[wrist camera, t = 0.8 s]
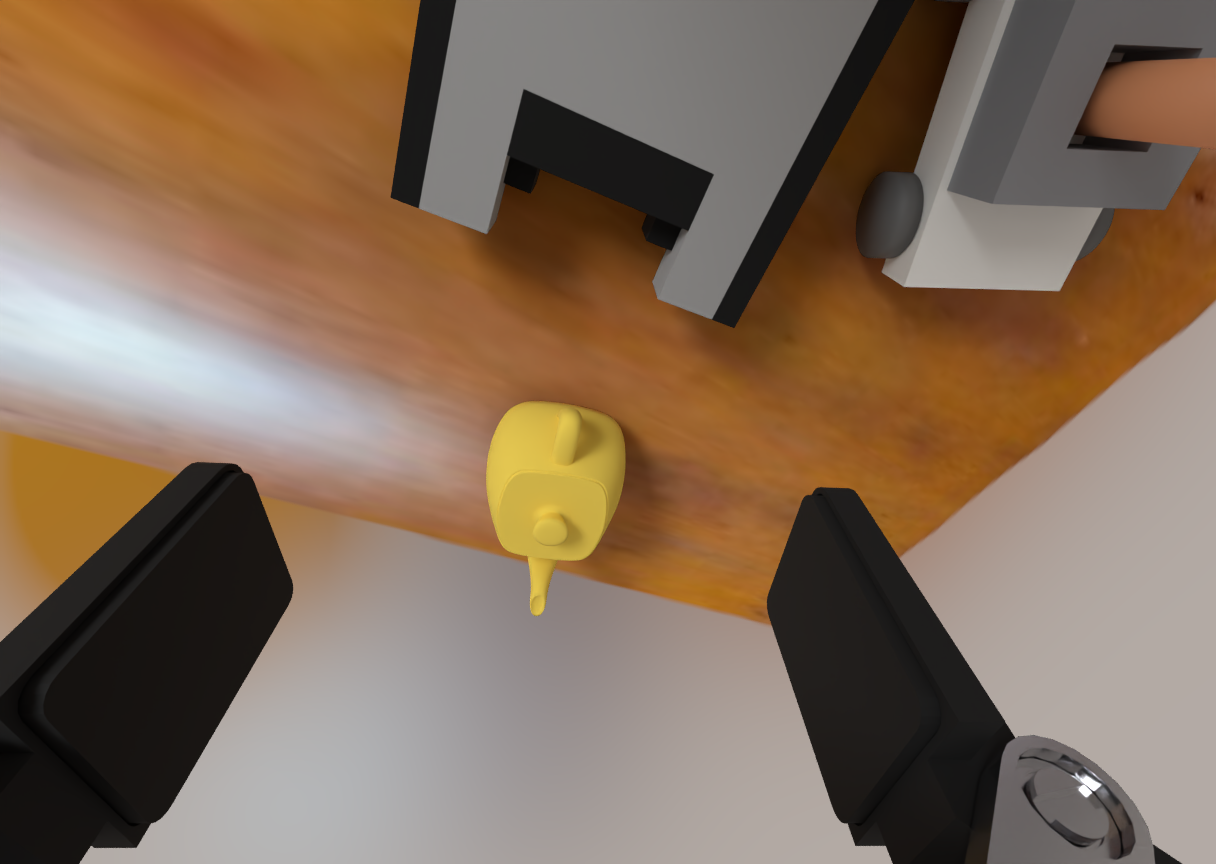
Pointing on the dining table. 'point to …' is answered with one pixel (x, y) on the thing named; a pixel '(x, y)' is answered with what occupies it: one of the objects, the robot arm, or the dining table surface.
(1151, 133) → the pin
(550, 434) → the teapot
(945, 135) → the ramp trolley
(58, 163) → the dining table surface
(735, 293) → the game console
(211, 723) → the robot arm
